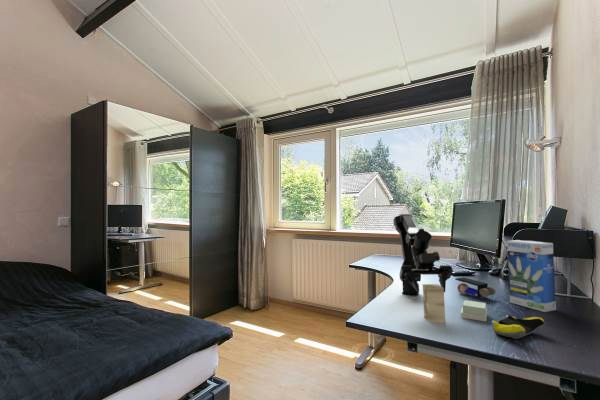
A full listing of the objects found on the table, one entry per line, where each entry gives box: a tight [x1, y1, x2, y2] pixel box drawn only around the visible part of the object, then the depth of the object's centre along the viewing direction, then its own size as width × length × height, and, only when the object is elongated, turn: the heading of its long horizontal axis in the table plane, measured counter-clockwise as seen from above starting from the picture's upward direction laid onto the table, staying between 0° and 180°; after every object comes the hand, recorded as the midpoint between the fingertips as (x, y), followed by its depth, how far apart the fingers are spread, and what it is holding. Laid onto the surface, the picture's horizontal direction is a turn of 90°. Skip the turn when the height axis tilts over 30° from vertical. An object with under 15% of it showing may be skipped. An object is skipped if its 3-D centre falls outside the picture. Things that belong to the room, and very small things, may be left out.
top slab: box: [462, 300, 487, 316], centre depth 108 cm, size 7×7×2 cm
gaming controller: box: [491, 315, 546, 340], centre depth 91 cm, size 15×6×10 cm
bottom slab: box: [460, 305, 488, 322], centre depth 108 cm, size 8×8×2 cm
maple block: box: [422, 283, 446, 324], centre depth 105 cm, size 6×6×12 cm
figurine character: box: [454, 277, 497, 301], centre depth 131 cm, size 7×8×15 cm
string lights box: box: [506, 239, 557, 313], centre depth 117 cm, size 13×8×26 cm, turn 21°
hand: (431, 291), depth 108 cm, fingers open, 9 cm apart
